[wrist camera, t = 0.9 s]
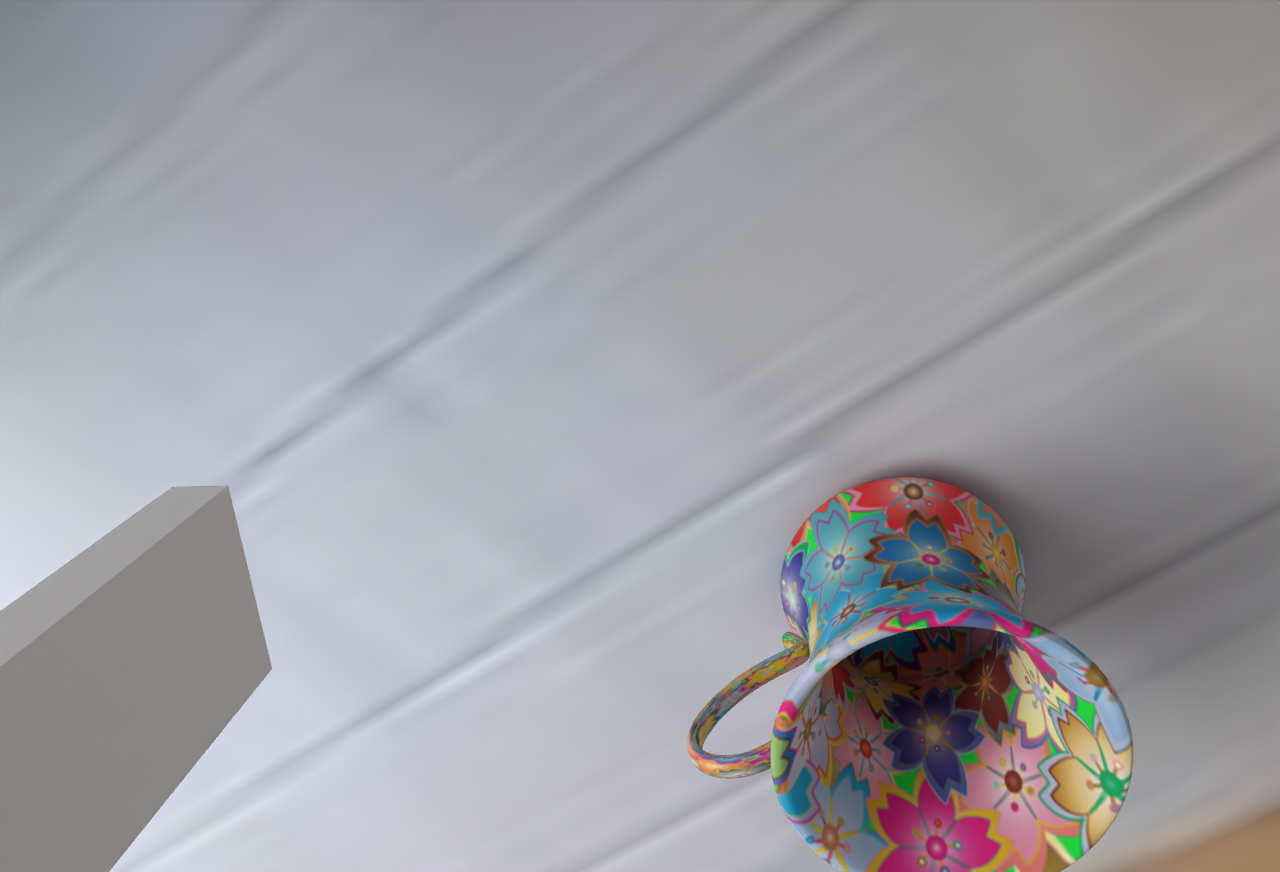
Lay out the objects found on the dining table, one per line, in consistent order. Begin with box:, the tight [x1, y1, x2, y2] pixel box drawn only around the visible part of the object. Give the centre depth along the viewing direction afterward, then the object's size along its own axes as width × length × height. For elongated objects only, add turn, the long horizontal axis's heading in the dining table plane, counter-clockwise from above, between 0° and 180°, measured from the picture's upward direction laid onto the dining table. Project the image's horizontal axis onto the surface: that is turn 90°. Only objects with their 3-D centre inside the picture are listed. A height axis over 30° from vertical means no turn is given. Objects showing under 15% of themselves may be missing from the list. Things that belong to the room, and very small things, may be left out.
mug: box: [687, 477, 1133, 872], centre depth 31 cm, size 12×9×11 cm
